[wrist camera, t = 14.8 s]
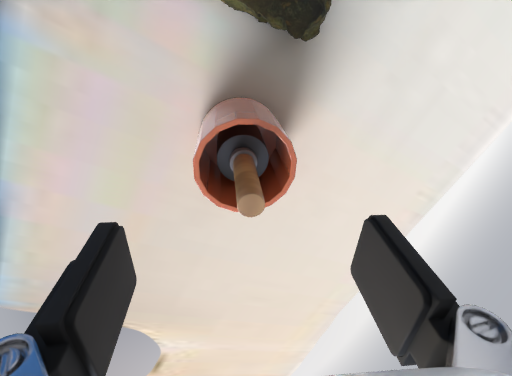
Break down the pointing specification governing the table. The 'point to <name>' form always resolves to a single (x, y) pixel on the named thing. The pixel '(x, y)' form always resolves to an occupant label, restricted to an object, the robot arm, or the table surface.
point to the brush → (244, 165)
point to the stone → (287, 14)
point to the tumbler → (275, 140)
